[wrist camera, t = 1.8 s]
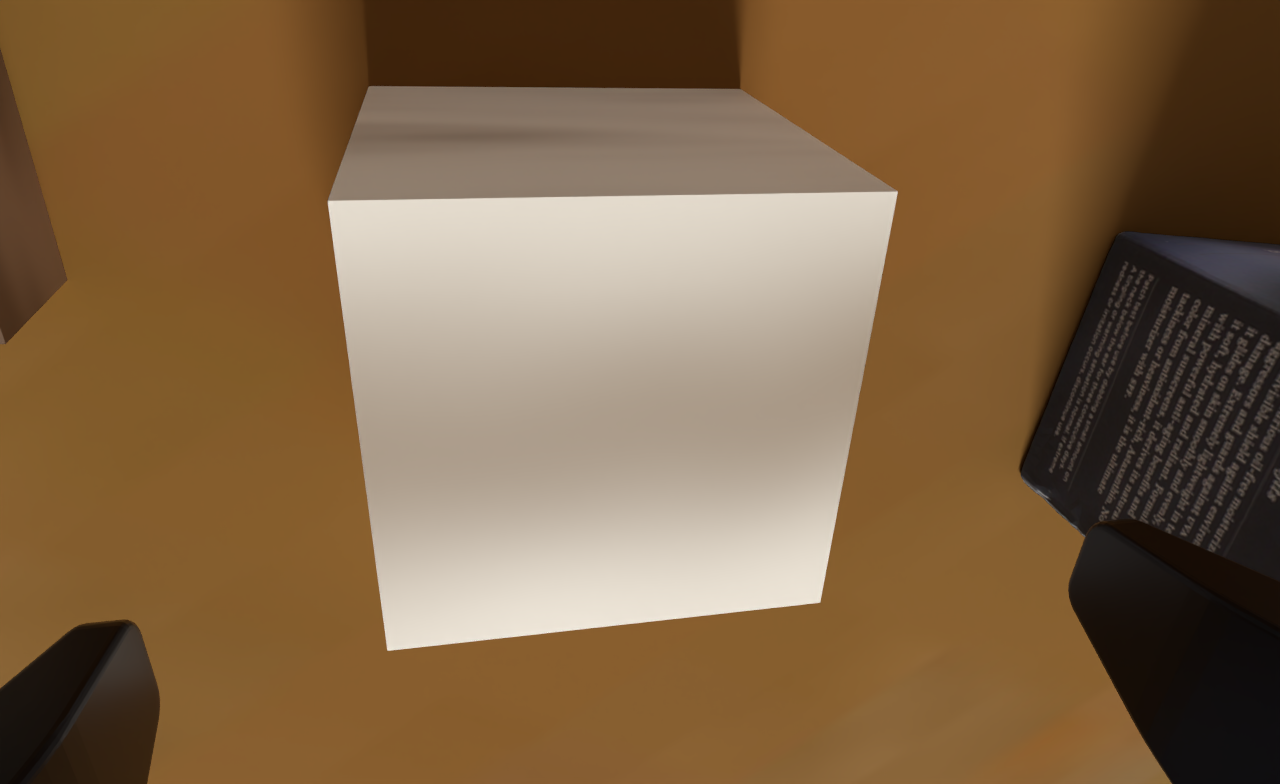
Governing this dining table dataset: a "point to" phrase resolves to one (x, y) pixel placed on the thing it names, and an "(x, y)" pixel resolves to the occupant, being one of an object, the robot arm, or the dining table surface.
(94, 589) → the dining table surface
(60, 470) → the dining table surface
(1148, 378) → the small box
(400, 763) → the dining table surface
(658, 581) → the cream cube
